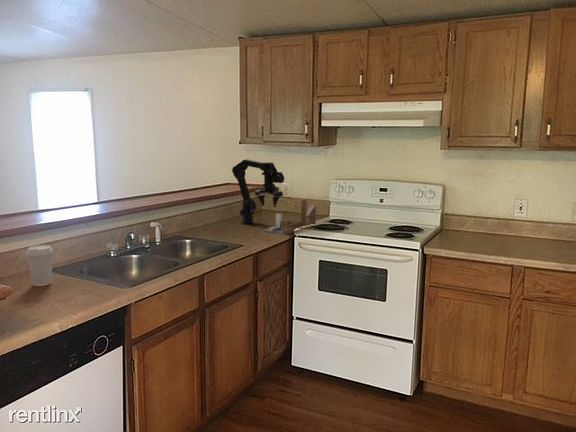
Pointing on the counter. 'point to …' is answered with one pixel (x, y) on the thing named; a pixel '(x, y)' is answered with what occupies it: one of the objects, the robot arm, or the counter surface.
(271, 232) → the mat
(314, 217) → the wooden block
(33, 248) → the coffee cup
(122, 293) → the counter surface
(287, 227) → the walls
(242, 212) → the robot arm
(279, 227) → the bracket
